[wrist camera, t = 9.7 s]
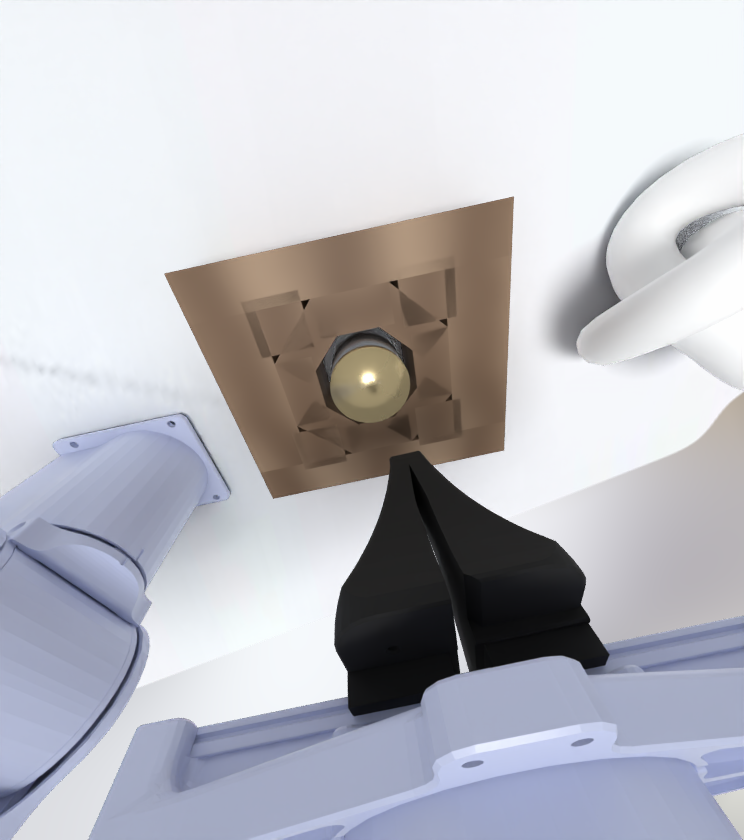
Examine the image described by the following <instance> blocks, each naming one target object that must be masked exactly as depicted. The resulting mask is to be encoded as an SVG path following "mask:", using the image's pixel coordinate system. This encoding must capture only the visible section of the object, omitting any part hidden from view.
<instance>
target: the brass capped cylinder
mask: <svg viewBox="0 0 744 840" xmlns="http://www.w3.org/2000/svg"><path fill="white" fill-rule="evenodd" d="M409 390H410V378H409V374H408V371H407V369H406V367H405V365H404V363H403V362H402V360H401V358H400V357H399V355H398V353H397V352H396V350H395V348H394V346H393V345H392V343H391V341H390V340H389V338H388V336H387V335H386V334H385V333H384V332H383V331H382V330H381V329H380V328H378V327H377V328H373V329H368V330H363V331H359V332H354V333H349V334H345V335H340V336H339V337H338V338H337V340H336V342H335V345H334V350H333V360H332V371H331V381H330V392H331V396H332V399H333V401H334V403H335V405H336V407H337V408H338V409H339V410H340V411H341V412H342V413H343V414H344V415H345V416H347V417H349V418H350V419H353V420H355V421H359V422H364V423H374V422H379V421H383V420H385V419H388V418H389V417H391V416H393V415H394V414H395V413H397V412H398V411H399V410H400V409H401V407H402V406H403V405H404V403H405V402H406V400H407V397H408V395H409Z"/></svg>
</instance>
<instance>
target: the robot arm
mask: <svg viewBox="0 0 744 840" xmlns="http://www.w3.org/2000/svg"><path fill="white" fill-rule="evenodd" d="M170 421H173V422H174V423H175V425H174V424H172V423H171V422H170ZM75 442H76V443H77V444H76V443H75ZM53 448H54V450H55V451H56V452H57V453H58V454H59V455H60V456H59V457H58V458H56V459H55V460H53V461H52V462H51V463H49V464H48V465H46V466H45V467H43V468H42V469H41V470H39V471H38V472H36V473H35V474H33V475H32V476H30V477H29V478H28V479H26V480H25V481H23V482H22V483H20V484H19V485H17V486H16V487H15V488H13V489H12V490H10V491H9V492H7V493H6V494H5V495H3V496H2V497H0V840H11V839H12V838H13V836H14V835H15V834H16V833H17V831H18V830H19V828H20V827H21V826H22V825H23V823H24V822H25V821H26V820H27V818H28V817H29V816H30V815H31V813H32V812H33V811H34V810H35V809H36V808H37V806H38V805H39V804H40V803H41V801H42V800H43V799H44V798H45V797H46V796H47V795H48V794H49V793H50V791H52V790H53V789H54V787H55V786H56V785H57V784H58V783H59V782H60V781H61V780H63V779H64V778H65V776H67V774H69V773H70V772H71V771H72V770H73V769H74V768H75V767H76V766H77V765H78V764H79V763H80V762H81V761H82V760H83V759H84V758H85V757H86V756H87V755H88V753H90V751H91V750H92V749H93V748H94V747H95V746H96V745H97V744H98V743H99V742H100V740H101V739H102V738H103V737H104V736H105V735H106V733H107V732H108V731H109V730H110V728H111V727H112V726H113V724H114V723H115V721H116V720H117V719H118V717H119V716H120V714H121V713H122V711H123V710H124V708H125V707H126V705H127V703H128V702H129V700H130V698H131V696H132V694H133V692H134V690H135V688H136V686H137V684H138V682H139V680H140V677H141V675H142V673H143V670H144V668H145V664H146V661H147V658H148V653H149V646H150V645H149V636H148V633H147V631H146V630H145V628H144V627H143V626H142V625H140V624H141V622H142V620H143V618H144V617H145V615H146V613H147V611H148V609H149V608H150V606H151V604H152V603H151V601H150V600H149V599H147V597H146V596H145V593H144V592H145V590H146V589H147V587H148V585H149V584H150V582H151V580H152V579H153V577H154V575H155V574H156V572H157V570H158V569H159V567H160V565H161V564H162V562H163V560H164V558H165V557H166V555H167V553H168V552H169V550H170V548H171V547H172V545H173V543H174V542H175V540H176V538H177V537H178V535H179V533H180V532H181V530H182V528H183V527H184V525H185V523H186V521H187V520H188V518H189V516H190V515H191V513H192V511H193V510H194V508H195V506H199V505H204V504H209V503H214V502H218V501H223V500H227V499H228V498H229V496H230V491H229V490H228V488H227V486H226V485H225V483H224V481H223V479H222V478H221V476H220V474H219V472H218V471H217V469H216V467H215V465H214V464H213V462H212V460H211V458H210V457H209V455H208V453H207V452H206V450H205V448H204V446H203V445H202V443H201V441H200V439H199V438H198V436H197V434H196V432H195V431H194V429H193V427H192V425H191V424H190V422H189V420H188V419H187V417H186V416H184V415H182V414H176V415H171V416H166V417H162V418H157V419H152V420H148V421H143V422H138V423H134V424H129V425H124V426H120V427H115V428H110V429H106V430H101V431H96V432H92V433H87V434H82V435H78V436H73V437H68V438H64V439H59V440H57V441H56V442H54V443H53ZM389 461H390V472H389V480H388V486H387V491H386V495H385V499H384V503H383V507H382V510H381V513H380V516H379V519H378V521H377V524H376V526H375V529H374V531H373V533H372V536H371V538H370V540H369V542H368V544H367V546H366V548H365V550H364V552H363V554H362V555H361V557H360V559H359V561H358V563H357V564H356V566H355V568H354V569H353V571H352V572H351V574H350V575H349V577H348V578H347V580H346V581H345V583H344V584H343V586H342V588H341V592H340V596H339V600H338V605H337V611H336V618H335V643H334V645H335V648H336V652H337V653H338V655H339V657H340V659H341V661H342V662H343V664H344V666H345V668H346V670H347V671H348V697H345V698H340V699H335V700H330V701H325V702H320V703H315V704H310V705H306V706H301V707H296V708H291V709H286V710H281V711H276V712H271V713H267V714H262V715H257V716H252V717H247V718H242V719H238V720H232V721H227V722H223V723H218V724H213V725H208V726H203V727H199V728H197V726H196V725H195V724H194V723H193V722H192V721H191V720H188V719H185V718H174V719H169V720H164V721H160V722H155V723H149V724H145V725H141V726H140V727H138V728H137V729H136V732H135V734H134V736H133V739H132V741H131V743H130V745H129V748H128V750H127V752H126V754H125V757H124V759H123V761H122V763H121V766H120V768H119V770H118V773H117V775H116V777H115V779H114V782H113V784H112V787H111V789H110V791H109V793H108V795H107V798H106V800H105V802H104V805H103V807H102V809H101V812H100V814H99V816H98V818H97V821H96V823H95V825H94V827H93V830H92V832H91V834H90V836H89V839H88V840H743V839H742V838H741V836H740V835H739V833H738V832H737V831H736V829H735V828H734V826H733V825H732V823H731V822H730V820H729V819H728V818H727V816H726V815H725V813H724V812H723V810H722V809H721V807H720V806H719V805H718V803H717V802H716V800H715V799H714V797H713V796H716V795H720V794H724V793H728V792H733V791H737V790H741V789H744V616H739V617H734V618H729V619H724V620H719V621H715V622H710V623H705V624H700V625H695V626H691V627H686V628H681V629H676V630H671V631H666V632H661V633H656V634H651V635H647V636H642V637H637V638H632V639H627V640H623V641H617V642H612V643H608V644H602V643H601V641H600V640H599V638H598V637H597V635H596V634H595V632H594V631H593V629H592V628H591V626H590V625H589V622H590V618H589V616H588V614H587V613H586V611H585V610H584V609H583V607H582V606H581V601H582V597H583V593H584V590H585V585H586V577H585V575H584V574H583V572H582V570H581V569H580V568H579V566H578V565H577V564H576V563H575V561H574V560H573V559H572V558H571V557H570V556H569V555H568V553H567V552H566V551H565V550H564V549H563V548H562V547H561V546H560V545H559V544H558V543H557V542H556V541H553V540H551V539H549V538H546V537H544V536H541V535H539V534H536V533H534V532H531V531H529V530H527V529H524V528H522V527H520V526H518V525H516V524H514V523H512V522H509V521H508V520H506V519H504V518H502V517H500V516H499V515H497V514H495V513H493V512H491V511H490V510H488V509H486V508H485V507H483V506H482V505H480V504H478V503H477V502H476V501H474V500H473V499H471V498H470V497H468V496H467V495H466V494H464V493H463V492H462V491H460V490H459V489H458V488H457V487H455V486H454V485H453V484H452V483H451V482H450V481H448V480H447V479H446V478H445V477H444V476H443V475H442V474H441V473H440V472H439V471H438V470H437V469H436V468H435V467H434V466H433V465H432V464H431V463H430V462H429V461H428V460H427V459H426V458H425V456H424V455H423V454H422V453H421V452H420V451H414V452H410V453H405V454H401V455H397V456H392V457H391V458H390V459H389ZM216 495H218V496H216ZM429 540H430V541H429ZM430 543H431V544H430ZM431 545H432V546H431ZM432 548H433V549H432ZM433 550H434V552H433ZM434 553H435V555H434ZM435 556H436V557H435ZM436 559H437V560H436ZM437 561H438V562H437ZM438 564H439V565H438ZM454 619H455V623H456V626H457V630H458V633H459V636H460V640H461V644H462V647H463V651H464V655H465V658H466V662H467V665H468V669H469V672H466V673H461V674H460V669H459V661H458V653H457V650H458V646H457V639H456V631H455V624H454Z"/></svg>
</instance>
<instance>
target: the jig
mask: <svg viewBox="0 0 744 840" xmlns="http://www.w3.org/2000/svg"><path fill="white" fill-rule="evenodd" d="M513 204H514V197H509V198H505V199H500V200H496V201H491V202H487V203H482V204H478V205H473V206H469V207H464V208H460V209H455V210H451V211H446V212H442V213H437V214H432V215H428V216H423V217H419V218H414V219H410V220H405V221H401V222H396V223H392V224H387V225H383V226H378V227H374V228H369V229H364V230H360V231H355V232H351V233H346V234H342V235H337V236H333V237H328V238H324V239H319V240H315V241H310V242H306V243H301V244H296V245H292V246H287V247H283V248H278V249H274V250H269V251H265V252H260V253H256V254H251V255H247V256H242V257H238V258H233V259H229V260H224V261H219V262H215V263H210V264H206V265H201V266H197V267H192V268H188V269H183V270H179V271H174V272H170V273H165V277H166V279H167V281H168V283H169V285H170V287H171V289H172V291H173V293H174V295H175V297H176V299H177V301H178V303H179V305H180V307H181V310H182V312H183V314H184V316H185V318H186V320H187V322H188V324H189V326H190V328H191V330H192V332H193V334H194V336H195V338H196V340H197V343H198V345H199V347H200V349H201V351H202V353H203V355H204V357H205V359H206V361H207V363H208V365H209V367H210V369H211V371H212V373H213V376H214V378H215V380H216V382H217V384H218V386H219V388H220V390H221V392H222V394H223V396H224V398H225V400H226V402H227V404H228V406H229V409H230V411H231V413H232V415H233V417H234V419H235V421H236V423H237V425H238V427H239V429H240V431H241V433H242V435H243V437H244V439H245V442H246V444H247V446H248V448H249V450H250V452H251V454H252V456H253V458H254V460H255V462H256V464H257V466H258V468H259V470H260V472H261V475H262V477H263V479H264V481H265V483H266V485H267V487H268V489H269V491H270V493H271V495H272V497H273V499H274V498H279V497H284V496H288V495H293V494H298V493H303V492H308V491H312V490H317V489H322V488H327V487H331V486H336V485H341V484H346V483H350V482H355V481H360V480H365V479H370V478H374V477H379V476H384V475H389V472H390V461H389V459H390V458H391V457H392V456H397V455H401V454H405V453H410V452H414V451H420V452H421V453H422V454H423V455H424V456H425V458H426V459H427V460H428V461H429V462H430V463H431V464H432V465H436V464H441V463H446V462H451V461H456V460H460V459H465V458H470V457H475V456H479V455H484V454H489V453H494V452H498V451H503V450H504V437H505V411H506V385H507V360H508V334H509V308H510V282H511V256H512V230H513ZM377 327H380V328H381V329H382V330H384V331H385V332H387V333H388V334H390V335H391V336H393V337H394V338H395V339H397V340H398V341H400V342H401V345H402V353H403V360H404V365H405V367H406V369H407V371H408V374H409V378H410V390H409V395H408V397H407V400H406V402H405V403H404V405H403V406H402V407H401V409H400V410H399V411H398V412H397V413H395V414H394V415H393V416H391V417H389V418H388V419H385V420H383V421H379V422H374V423H364V422H359V421H355V420H353V419H350V418H349V417H347V416H345V415H344V414H343V413H342V412H341V411H340V410H339V409H338V408H337V407H336V405H335V403H334V401H333V399H332V396H331V392H330V382H329V380H328V377H327V373H326V370H325V366H324V362H323V358H324V356H325V355H326V353H327V352H328V350H329V348H330V347H331V345H332V343H333V342H334V340H335V338H336V337H337V336H340V335H345V334H349V333H354V332H359V331H363V330H368V329H373V328H377Z"/></svg>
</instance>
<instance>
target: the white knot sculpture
mask: <svg viewBox="0 0 744 840" xmlns="http://www.w3.org/2000/svg"><path fill="white" fill-rule="evenodd" d="M738 206H744V134H741V135H738V136H736V137H733V138H731V139H728V140H725V141H723V142H720V143H718V144H716V145H714V146H712V147H710V148H708V149H706V150H704V151H703V152H701V153H699V154H697V155H695V156H693V157H691V158H689V159H687V160H685V161H684V162H682V163H681V164H679V165H678V166H676V167H675V168H673V169H672V170H671V171H669V172H668V173H666V174H665V175H663V176H662V177H660V178H659V179H658V180H657V181H655V182H654V183H653V184H652V185H651V186H650V187H649V188H647V189H646V190H645V191H644V192H643V193H642V194H641V195H639V196H638V198H637V199H636V200H635V201H634V202H633V203H632V205H631V206H630V207H629V208H628V209H627V210H626V212H625V213H624V214H623V216H622V217H621V219H620V220H619V222H618V224H617V225H616V227H615V229H614V230H613V233H612V236H611V238H610V241H609V243H608V248H607V254H606V266H607V270H608V274H609V277H610V280H611V283H612V286H613V288H614V291H615V292H616V294H617V296H618V297H619V299H620V300H621V302H619V303H618V304H616V305H614V306H613V307H611V308H610V309H608V310H607V311H605V312H603V313H602V314H600V315H599V316H598V317H596V318H595V319H594V320H592V321H591V322H590V323H589V324H588V325H587V326H585V327H584V328H583V329H582V330H581V332H580V334H579V337H578V340H577V342H576V345H577V349H578V353H579V355H580V356H581V357H582V358H583V359H584V360H586V361H587V362H588V363H592V364H597V365H603V366H604V365H608V364H613V363H617V362H621V361H625V360H628V359H631V358H635V357H637V356H640V355H643V354H646V353H649V352H651V351H654V350H657V349H659V348H662V347H665V346H669V345H672V346H673V347H675V348H676V349H678V350H679V351H680V352H682V353H683V354H685V355H686V356H688V357H689V358H691V359H692V360H693V361H695V362H696V363H697V364H698V365H699V366H701V367H702V368H703V369H705V370H706V371H707V372H709V373H710V374H712V375H713V376H714V377H716V378H718V379H719V380H721V381H722V382H724V383H726V384H728V385H730V386H731V387H734V388H736V389H739V390H743V391H744V210H741V211H737V212H733V213H730V214H726V215H723V216H721V217H719V218H717V219H715V220H713V221H711V222H710V223H708V224H707V225H705V226H704V227H703V228H701V229H700V230H698V231H697V232H695V233H694V234H693V235H691V236H690V237H689V238H688V239H687V241H686V242H685V243H684V245H683V247H682V249H681V251H679V249H678V247H677V245H676V238H677V236H678V234H679V233H680V231H681V230H682V229H683V228H685V227H686V226H688V225H689V224H690V223H692V222H694V221H696V220H698V219H700V218H702V217H705V216H707V215H710V214H712V213H715V212H718V211H722V210H726V209H729V208H733V207H738Z"/></svg>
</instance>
